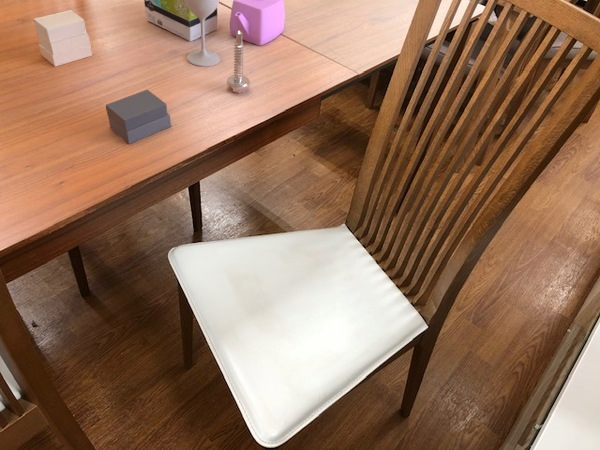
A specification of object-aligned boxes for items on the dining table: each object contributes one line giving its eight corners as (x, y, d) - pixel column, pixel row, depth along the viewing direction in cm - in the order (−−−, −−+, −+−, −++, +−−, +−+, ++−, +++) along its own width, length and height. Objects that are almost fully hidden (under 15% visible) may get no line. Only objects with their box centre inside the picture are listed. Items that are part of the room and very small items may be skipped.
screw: (231, 81, 109) (252, 86, 108) (223, 93, 105) (245, 98, 105) (231, 22, 99) (254, 27, 99) (222, 32, 96) (247, 38, 95)
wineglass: (186, 66, 111) (180, -35, 96) (186, 50, 116) (180, -49, 101) (221, 67, 112) (220, -33, 97) (219, 50, 118) (218, -47, 103)
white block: (50, 43, 102) (46, 28, 100) (37, 32, 105) (33, 18, 103) (86, 33, 107) (84, 19, 105) (73, 23, 109) (70, 9, 107)
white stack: (55, 66, 106) (49, 44, 102) (41, 55, 108) (34, 32, 105) (92, 55, 110) (88, 33, 107) (78, 44, 113) (73, 22, 109)
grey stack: (129, 144, 91) (124, 120, 87) (110, 127, 93) (105, 104, 90) (171, 126, 95) (168, 103, 92) (152, 111, 98) (149, 88, 95)
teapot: (254, 54, 118) (255, 10, 111) (217, 39, 121) (216, -4, 114) (292, 28, 130) (296, -13, 122) (258, 15, 133) (260, -25, 125)
